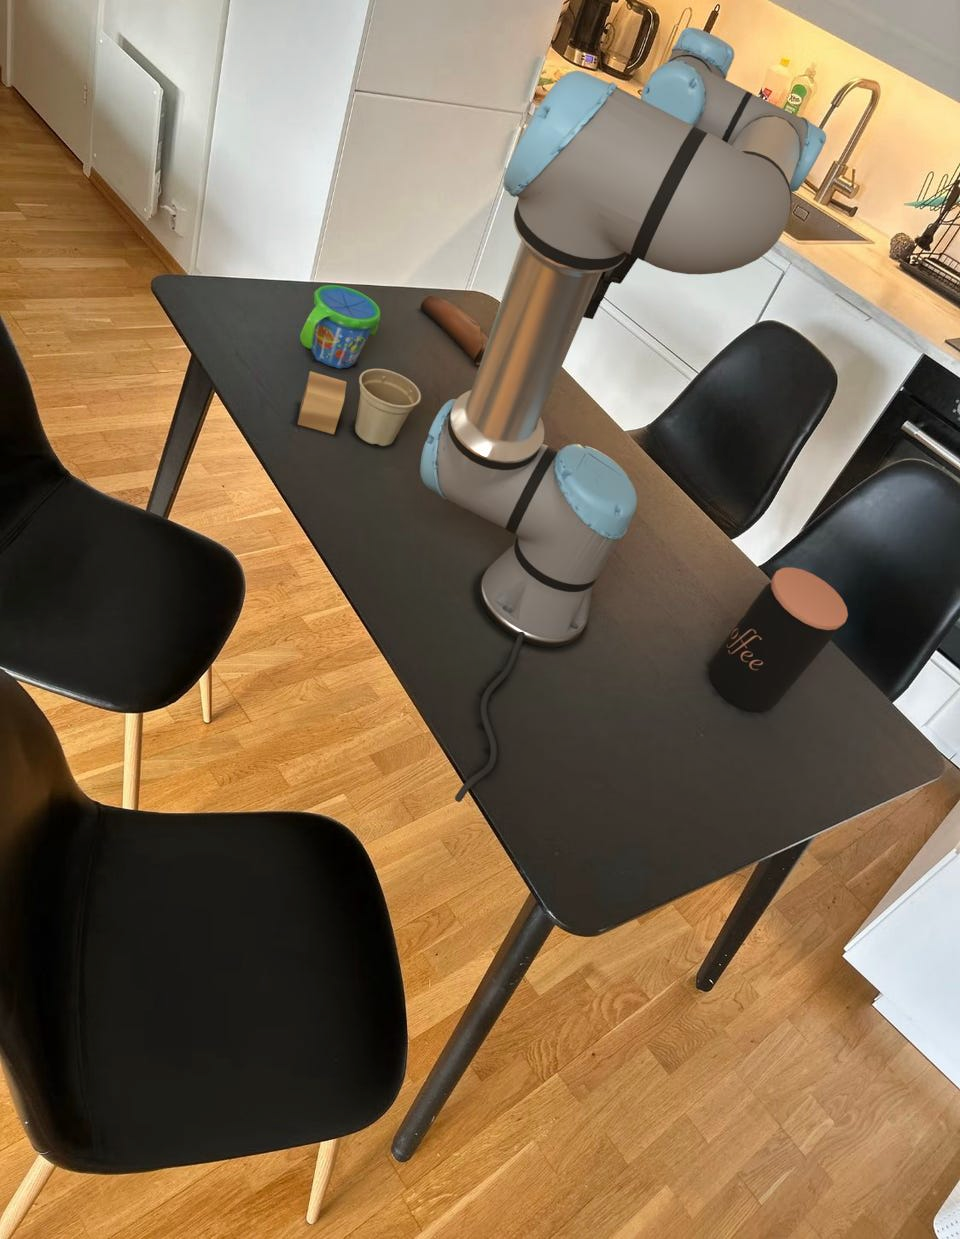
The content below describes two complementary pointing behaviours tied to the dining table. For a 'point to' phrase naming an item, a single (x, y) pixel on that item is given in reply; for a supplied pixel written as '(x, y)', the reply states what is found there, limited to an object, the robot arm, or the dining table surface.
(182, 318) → the dining table surface
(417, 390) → the flower pot
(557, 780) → the dining table surface
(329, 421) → the maple block
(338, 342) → the snack cup
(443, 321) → the sunglasses case
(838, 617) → the coffee jar
